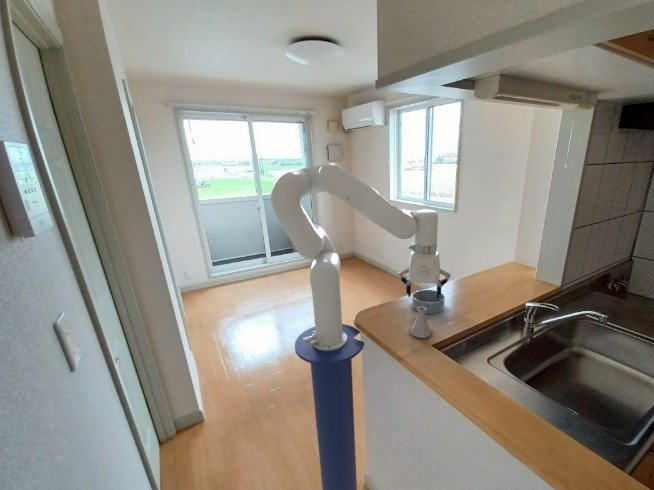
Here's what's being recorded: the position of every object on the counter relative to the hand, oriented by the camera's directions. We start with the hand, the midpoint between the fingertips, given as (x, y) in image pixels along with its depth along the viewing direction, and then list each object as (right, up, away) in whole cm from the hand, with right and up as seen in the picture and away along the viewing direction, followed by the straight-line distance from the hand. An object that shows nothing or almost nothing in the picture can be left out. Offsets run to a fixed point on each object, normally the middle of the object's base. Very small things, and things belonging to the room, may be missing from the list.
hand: (423, 295), depth 108 cm
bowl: (+6, -7, +25) cm, 26 cm away
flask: (0, -14, +5) cm, 15 cm away
